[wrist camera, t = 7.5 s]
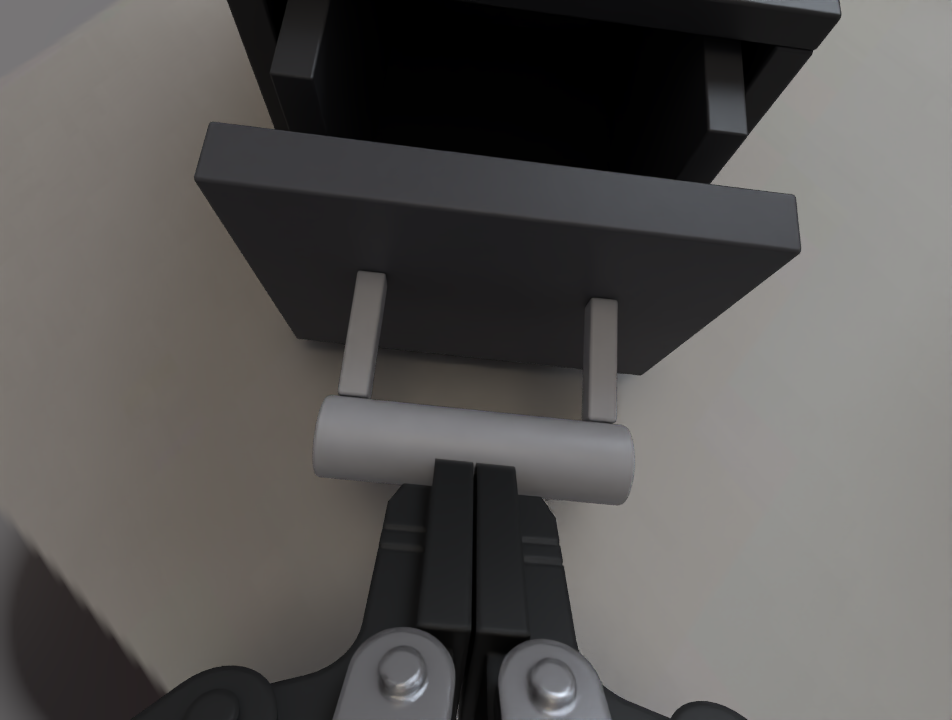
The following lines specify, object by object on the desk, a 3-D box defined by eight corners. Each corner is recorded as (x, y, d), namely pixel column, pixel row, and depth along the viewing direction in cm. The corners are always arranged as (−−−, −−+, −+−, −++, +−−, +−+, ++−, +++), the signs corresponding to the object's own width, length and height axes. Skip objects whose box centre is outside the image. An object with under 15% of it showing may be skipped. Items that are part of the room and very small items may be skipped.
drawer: (642, 522, 16) (830, 508, 8) (267, 487, 15) (117, 439, 8) (640, 54, 21) (756, -210, 14) (359, 16, 21) (321, -280, 13)
